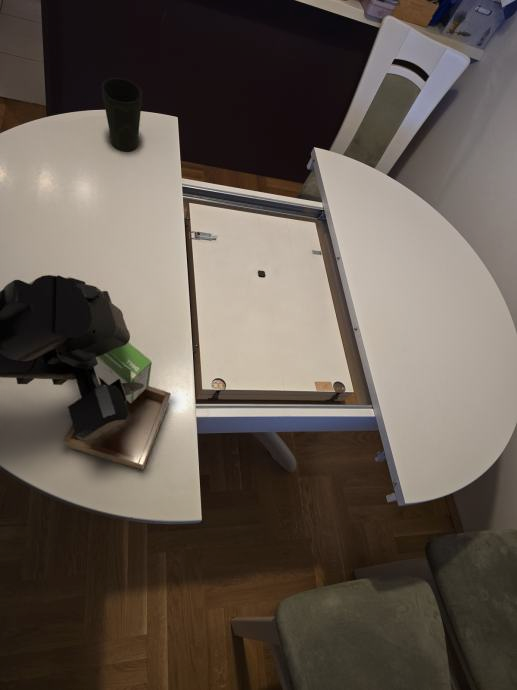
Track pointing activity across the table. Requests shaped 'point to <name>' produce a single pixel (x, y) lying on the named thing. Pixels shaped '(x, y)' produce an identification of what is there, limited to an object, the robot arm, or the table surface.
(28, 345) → the robot arm
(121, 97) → the cup
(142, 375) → the ink box
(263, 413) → the table surface
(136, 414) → the holder
